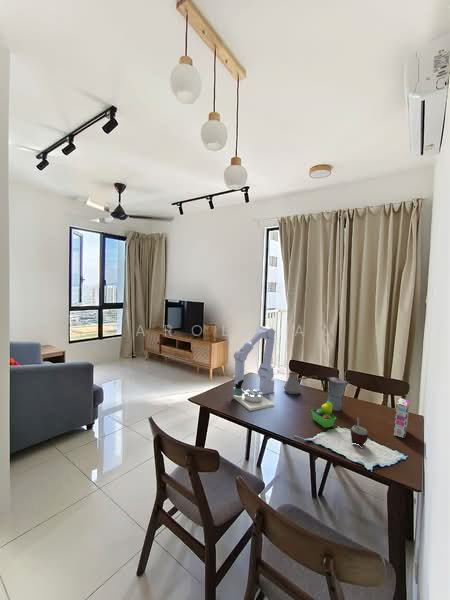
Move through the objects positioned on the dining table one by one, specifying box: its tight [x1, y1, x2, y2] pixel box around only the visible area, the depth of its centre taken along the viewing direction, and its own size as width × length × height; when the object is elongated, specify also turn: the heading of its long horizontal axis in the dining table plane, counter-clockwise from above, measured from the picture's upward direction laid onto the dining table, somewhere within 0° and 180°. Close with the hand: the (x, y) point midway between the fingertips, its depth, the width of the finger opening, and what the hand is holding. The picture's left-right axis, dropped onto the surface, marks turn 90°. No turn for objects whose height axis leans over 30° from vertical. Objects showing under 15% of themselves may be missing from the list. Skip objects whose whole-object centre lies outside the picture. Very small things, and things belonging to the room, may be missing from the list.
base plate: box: [232, 393, 275, 412], centre depth 161 cm, size 17×19×2 cm
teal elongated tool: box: [232, 387, 264, 403], centre depth 161 cm, size 18×11×5 cm, turn 74°
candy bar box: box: [393, 397, 411, 439], centre depth 133 cm, size 11×5×16 cm, turn 141°
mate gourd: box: [350, 416, 369, 447], centre depth 120 cm, size 8×8×15 cm
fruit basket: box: [311, 400, 337, 429], centre depth 139 cm, size 11×9×11 cm
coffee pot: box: [283, 372, 318, 395], centre depth 176 cm, size 21×12×15 cm, turn 57°
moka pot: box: [320, 375, 350, 412], centre depth 158 cm, size 10×15×20 cm, turn 78°
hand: (238, 391), depth 165 cm, fingers closed
